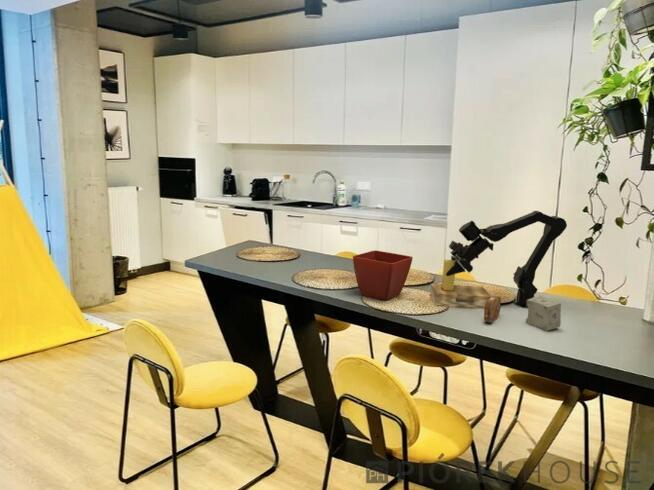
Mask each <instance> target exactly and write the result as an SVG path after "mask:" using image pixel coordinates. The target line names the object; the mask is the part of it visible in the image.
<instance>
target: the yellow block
mask: <svg viewBox="0 0 654 490" xmlns="http://www.w3.org/2000/svg"><path fill="white" fill-rule="evenodd" d="M454 263H455V261H454V260H451V259H443V269H442V270H443V271H442V281H441V284H442V289H443V290H451V291H453V288H454V285H455V277H456V276H455V275H456V274H454V275H450V276H447V275H446V273H447V272H448V271H449V270H450V269H451V268H452V266H453V265H454Z"/></svg>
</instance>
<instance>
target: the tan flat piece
mask: <svg viewBox="0 0 654 490" xmlns="http://www.w3.org/2000/svg"><path fill="white" fill-rule="evenodd" d="M429 295H430V297H431V299H432V300H433V302H434V304H435V306H436V305H439V306H438V307H452V308H453V307H454V308H455V307H456V308H471V309H484V307H485V303H486V301H487V300H488V299H490V298H491V297H492V296H493V295H491V293H489V291H488V290H487V289H485V288H484V286H482V285H481V286H480V285H479V286H477V285H462V284H461V285H460V284H454V288H453V291H451V290H443V289H442V283H441V284H438V283H430V294H429Z"/></svg>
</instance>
